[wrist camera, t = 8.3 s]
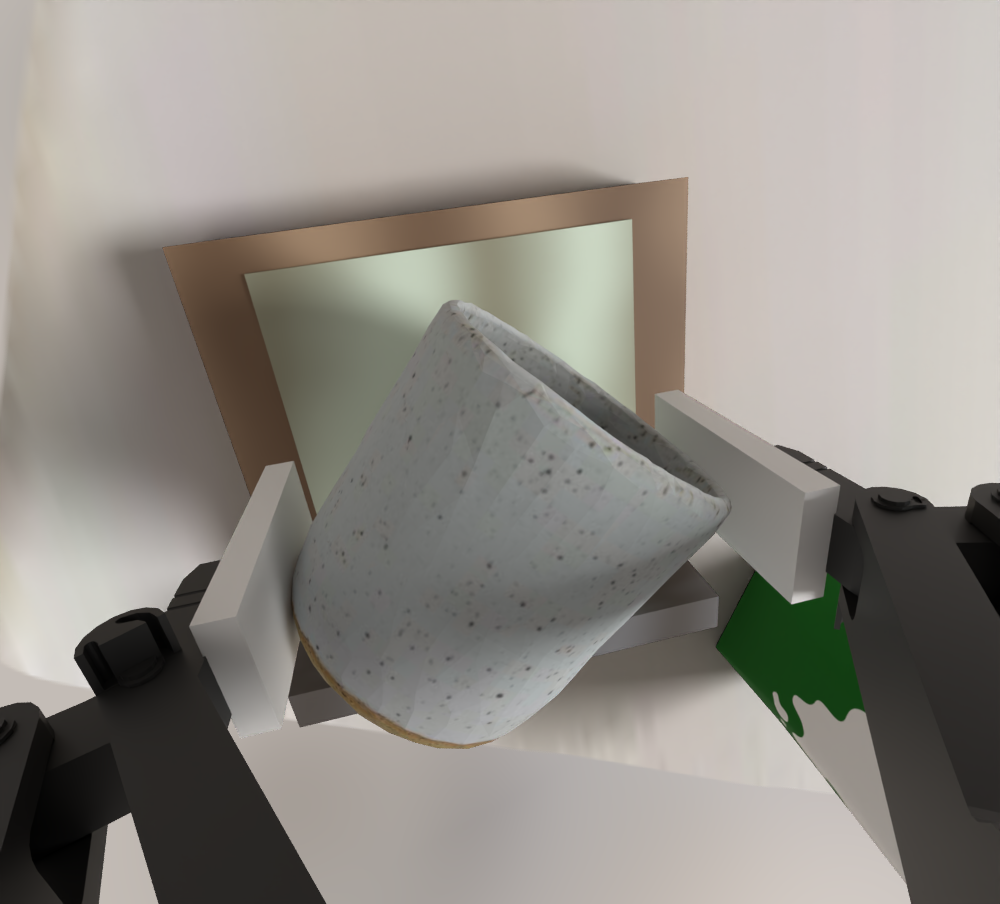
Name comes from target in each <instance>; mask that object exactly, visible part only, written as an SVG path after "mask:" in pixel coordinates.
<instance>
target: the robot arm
mask: <svg viewBox="0 0 1000 904" xmlns="http://www.w3.org/2000/svg"><path fill="white" fill-rule="evenodd" d="M655 430H656V431H658V432H659V433H660V434H661V435H662V436H664V437H665V438H666V439H667V440H668V441H669V442H671V443H672V444H673V445H674V446H676V447H677V448H678V449H680V450H681V451H682V452H684V453H685V454H686V455H687V456H688V457H690V458H691V459H692V460H693V461H694V462H695V463H697V464H698V465H699V466H700V467H701V468H702V469H703V470H705V471H706V472H707V473H708V474H709V475H710V476H711V477H712V478H713V479H714V480H715V481H716V482H717V483H718V484H719V485H720V486H721V488H722V489H723V490H724V492H725V493H726V495H727V496H728V498H729V499H730V501H731V507H732V508H731V511H730V514H729V515H728V517H727V518H726V519H725V521H724V522H723V523H722V524H721V526H720V527H719V528H718V530H717V531H716V533H717V534H718V535H719V536H720V537H721V538H722V539H723V540H725V541H726V542H727V543H728V544H729V545H730V546H731V547H732V548H733V549H734V550H735V551H736V552H737V553H738V554H739V555H740V556H741V557H742V558H743V559H744V560H745V561H747V562H748V563H749V564H750V565H751V566H752V567H753V568H754V569H755V570H756V571H757V572H758V573H759V574H760V575H761V576H762V577H763V578H764V579H765V580H766V581H767V582H769V583H770V584H771V585H772V586H773V587H774V588H775V589H776V590H777V591H778V592H779V593H780V594H781V595H782V596H783V597H784V598H785V599H786V600H787V601H788V602H789V603H791V604H795V603H799V602H803V601H807V600H811V599H815V598H820V597H823V596H824V589H825V583H826V576H827V573H828V574H829V575H830V576H832V577H833V578H834V579H835V580H837V581H838V582H839V583H840V584H841V587H840V593H839V599H838V605H837V611H836V617H835V623H834V629H838V630H840V626H841V623H842V622H844V626H845V630H846V634H847V638H848V642H849V647H850V651H851V655H852V659H853V663H854V667H855V672H856V676H857V680H858V684H859V688H860V692H861V697H862V701H863V705H864V709H865V713H866V717H867V721H868V726H869V730H870V734H871V738H872V742H873V746H874V751H875V755H876V759H877V763H878V767H879V771H880V776H881V780H882V784H883V788H884V792H885V796H886V801H887V805H888V809H889V813H890V817H891V821H892V825H893V830H894V834H895V838H896V842H897V846H898V850H899V855H900V859H901V863H902V867H903V871H904V875H905V880H906V884H907V888H908V892H909V896H910V900H911V904H1000V483H987V484H980V485H978V486H976V487H974V488H972V490H971V493H970V497H969V501H968V505H967V506H961V507H934V506H933V504H931V503H930V502H929V501H928V500H927V499H926V498H924V497H922V496H920V495H918V494H916V493H913V492H910V491H906V490H903V489H898V488H890V487H871V488H867V489H865V488H863V487H861V486H859V485H858V484H856V483H854V482H852V481H851V480H849V479H847V478H845V477H844V476H842V475H840V474H838V473H836V472H835V471H833V470H831V469H827V467H826V466H824V465H822V464H821V463H819V462H815V461H814V459H812V458H810V457H808V456H806V455H805V454H803V453H801V452H799V451H796V450H793V449H790V448H786V447H783V446H780V445H776V446H773V445H771V444H770V443H768V442H766V441H764V440H763V439H761V438H759V437H758V436H756V435H754V434H753V433H751V432H749V431H747V430H746V429H744V428H742V427H741V426H739V425H737V424H736V423H734V422H732V421H731V420H729V419H727V418H725V417H724V416H722V415H720V414H719V413H717V412H715V411H714V410H712V409H710V408H709V407H707V406H705V405H703V404H702V403H700V402H698V401H697V400H695V399H693V398H692V397H690V396H688V395H686V394H685V393H683V392H681V391H680V390H674V391H668V392H663V393H657V394H655ZM311 524H312V518H311V515H310V512H309V509H308V505H307V502H306V499H305V496H304V492H303V489H302V486H301V483H300V479H299V476H298V473H297V470H296V466H295V463H294V461H290V462H285V463H279V464H274V465H268V466H265V469H264V471H263V473H262V475H261V477H260V479H259V481H258V483H257V485H256V487H255V489H254V492H253V494H252V496H251V498H250V500H249V502H248V504H247V506H246V508H245V510H244V512H243V515H242V517H241V519H240V521H239V523H238V525H237V527H236V529H235V531H234V533H233V536H232V538H231V540H230V542H229V544H228V546H227V548H226V550H225V552H224V554H223V556H222V559H221V560H218V561H214V562H209V563H204V564H200V565H199V566H198V567H196V568H195V569H194V570H193V571H192V572H191V573H190V574H189V575H188V576H187V577H186V578H184V579H183V581H182V582H181V584H180V586H179V588H178V590H177V591H176V593H175V595H174V596H175V598H173V599H172V600H171V602H170V604H169V606H168V608H167V611H166V612H165V613H164V612H163V611H161V610H160V609H158V608H147V607H146V608H141V609H135V610H131V611H128V612H125V613H123V614H120V615H118V616H115V617H113V618H111V619H109V620H108V621H106V622H104V623H102V624H101V625H99V626H97V627H96V628H95V629H93V630H92V631H91V632H90V633H89V634H87V635H86V636H85V637H84V638H83V639H82V640H81V642H80V643H79V644H78V646H77V647H76V648H75V654H74V659H75V661H76V663H77V664H78V666H79V668H80V669H81V671H82V673H83V675H84V676H85V678H86V680H87V681H88V683H89V685H90V686H91V688H92V690H93V692H94V693H95V695H96V696H95V697H93V698H91V699H89V700H87V701H85V702H83V703H80V704H78V705H76V706H73V707H71V708H69V709H66V710H64V711H62V712H59V713H57V714H55V715H52V716H50V717H48V718H45V716H44V715H43V713H42V712H41V710H40V709H39V707H37V706H36V705H34V704H33V703H31V702H30V703H15V704H11V705H8V706H4V707H1V708H0V904H99V895H100V887H101V879H102V870H103V861H104V852H105V844H106V835H107V827H108V824H109V823H111V822H113V821H115V820H117V819H119V818H121V817H123V816H125V815H127V814H129V813H131V814H132V817H133V820H134V823H135V827H136V830H137V833H138V837H139V840H140V843H141V846H142V850H143V853H144V857H145V860H146V863H147V867H148V870H149V873H150V876H151V879H152V883H153V886H154V890H155V893H156V897H157V900H158V903H159V904H326V902H325V901H324V899H323V897H322V895H321V894H320V892H319V890H318V888H317V887H316V885H315V883H314V881H313V880H312V878H311V876H310V874H309V872H308V871H307V869H306V867H305V865H304V864H303V862H302V860H301V858H300V857H299V855H298V853H297V851H296V850H295V848H294V846H293V844H292V843H291V841H290V839H289V837H288V835H287V834H286V832H285V830H284V828H283V827H282V825H281V823H280V821H279V819H278V818H277V816H276V814H275V812H274V811H273V809H272V807H271V805H270V804H269V802H268V800H267V798H266V796H265V795H264V793H263V791H262V789H261V788H260V786H259V784H258V782H257V781H256V779H255V777H254V775H253V774H252V772H251V770H250V768H249V766H248V765H247V763H246V761H245V759H244V758H243V756H242V754H241V752H240V751H239V749H238V747H237V745H236V744H235V742H234V740H233V738H232V736H231V735H230V733H229V731H228V730H227V729H228V725H229V722H230V719H232V721H233V723H234V726H235V728H236V730H237V732H238V734H239V736H240V738H245V737H249V736H253V735H257V734H262V733H265V732H270V731H274V730H278V729H281V728H282V725H283V720H284V715H285V710H286V705H287V700H288V695H289V690H290V685H291V680H292V675H293V670H294V665H295V660H296V655H297V650H298V645H299V640H300V637H299V634H298V631H297V628H296V624H295V621H294V618H293V612H292V603H291V595H292V579H293V574H294V570H295V567H296V564H297V560H298V557H299V555H300V552H301V550H302V547H303V545H304V542H305V540H306V537H307V535H308V532H309V529H310V526H311Z"/></svg>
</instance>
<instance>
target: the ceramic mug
mask: <svg viewBox="0 0 1000 904" xmlns="http://www.w3.org/2000/svg"><path fill="white" fill-rule="evenodd" d="M731 508H732V507H731V501H730V499H729V498H728V496H727V495H726V493H725V492H724V490H723V489H722V488H721V486H720V485H719V484H718V483H717V482H716V481H715V480H714V479H713V478H712V477H711V476H710V475H709V474H708V473H707V472H706V471H705V470H703V469H702V468H701V467H700V466H699V465H698V464H697V463H695V462H694V461H693V460H692V459H691V458H690V457H688V456H687V455H686V454H685V453H684V452H682V451H681V450H680V449H678V448H677V447H676V446H674V445H673V444H672V443H671V442H669V441H668V440H667V439H666V438H665V437H664V436H662V435H661V434H660V433H659V432H658V431H656V430H655V429H654V428H653V427H651V426H650V425H648V424H647V423H646V422H644V421H643V420H642V419H641V418H640V417H638V416H637V415H636V414H635V413H634V412H633V411H631V410H630V409H628V408H627V407H625V406H624V405H623V404H621V403H620V402H619V401H618V400H616V399H615V398H614V397H612V396H611V395H610V394H608V393H607V392H606V391H605V390H603V389H602V388H601V387H599V386H598V385H597V384H596V383H594V382H593V381H591V380H589V379H588V378H586V377H584V376H583V375H581V374H580V373H579V372H577V371H576V370H574V369H573V368H572V367H571V366H569V365H568V364H567V363H566V362H565V361H563V360H562V359H560V358H559V357H557V356H556V355H554V354H553V353H551V352H550V351H548V350H547V349H545V348H544V347H542V346H541V345H539V344H538V343H536V342H535V341H533V340H532V339H531V338H529V337H528V336H527V335H525V334H523V333H521V332H519V331H518V330H516V329H515V328H514V327H512V326H510V325H508V324H507V323H505V322H503V321H501V320H500V319H498V318H497V317H495V316H494V315H492V314H490V313H489V312H487V311H484V310H482V309H480V308H479V307H477V306H476V305H474V304H472V303H466V302H463V301H462V300H450V301H448V302H446V303H445V304H443V305H442V306H441V308H440V310H439V311H438V313H437V314H436V316H435V317H434V319H433V320H432V322H431V323H430V325H429V326H428V328H427V330H426V332H425V334H424V335H423V337H422V339H421V341H420V343H419V345H418V346H417V348H416V350H415V352H414V354H413V356H412V357H411V359H410V361H409V362H408V364H407V365H406V367H405V369H404V370H403V372H402V374H401V375H400V377H399V379H398V380H397V382H396V383H395V385H394V387H393V388H392V390H391V392H390V393H389V395H388V396H387V398H386V400H385V401H384V403H383V405H382V406H381V408H380V410H379V411H378V413H377V414H376V416H375V418H374V419H373V421H372V423H371V424H370V426H369V428H368V429H367V431H366V433H365V435H364V437H363V439H362V441H361V443H360V445H359V447H358V449H357V451H356V452H355V454H354V455H353V457H352V459H351V460H350V462H349V463H348V465H347V467H346V468H345V470H344V471H343V473H342V474H341V476H340V478H339V479H338V481H337V482H336V484H335V486H334V487H333V489H332V491H331V492H330V494H329V496H328V497H327V499H326V501H325V502H324V504H323V506H322V507H321V509H320V511H319V512H318V514H317V516H316V517H315V519H314V521H313V522H312V524H311V526H310V529H309V532H308V535H307V537H306V540H305V542H304V545H303V547H302V550H301V552H300V555H299V557H298V560H297V564H296V567H295V570H294V574H293V579H292V595H291V603H292V612H293V618H294V621H295V624H296V628H297V631H298V634H299V637H300V641H301V642H302V644H303V646H304V648H305V650H306V652H307V654H308V656H309V658H310V660H311V662H312V664H313V665H314V667H315V668H316V669H317V671H318V672H319V673H320V675H321V676H322V677H323V679H324V680H325V681H326V682H327V683H328V684H329V685H330V686H331V687H332V688H333V689H334V690H335V691H336V692H337V693H338V694H339V695H340V696H341V697H342V698H343V699H344V700H345V701H346V702H347V703H348V704H349V705H350V706H351V707H352V708H353V709H354V710H355V711H356V712H357V713H358V714H359V715H361V716H362V717H364V718H365V719H367V720H369V721H371V722H372V723H374V724H376V725H377V726H379V727H381V728H382V729H384V730H386V731H387V732H389V733H391V734H394V735H397V736H399V737H402V738H405V739H407V740H410V741H412V742H415V743H419V744H423V745H428V746H431V747H435V748H456V749H469V748H472V747H476V746H479V745H482V744H486V743H489V742H492V741H494V740H496V739H498V738H499V737H501V736H503V735H505V734H507V733H509V732H510V731H512V730H513V729H515V728H516V727H518V726H519V725H520V724H522V723H523V722H525V721H526V720H527V719H529V718H530V717H531V716H533V715H534V714H535V713H536V712H537V711H539V710H540V709H541V708H542V707H544V706H545V705H546V704H547V703H548V702H550V701H551V700H552V699H553V698H555V697H556V696H557V695H558V694H559V693H560V692H561V691H562V690H563V689H564V688H565V686H566V685H567V684H568V683H569V682H570V681H571V680H572V679H573V677H574V676H575V675H576V674H577V673H578V672H579V671H580V669H581V668H582V667H583V666H584V665H585V664H586V662H587V661H588V660H589V659H590V658H591V657H592V656H593V654H594V653H595V652H596V651H597V650H598V649H599V648H600V647H601V646H602V645H603V644H604V643H605V642H606V641H607V640H608V639H609V638H610V637H611V636H612V635H613V634H614V633H615V632H616V631H617V630H618V629H619V628H620V627H621V626H622V625H624V624H625V623H626V622H627V621H628V620H629V619H630V618H631V617H632V616H633V615H634V613H635V612H636V611H637V610H638V609H639V608H640V607H641V606H642V605H643V604H644V603H645V602H646V601H647V600H648V599H649V598H650V597H651V596H652V595H653V594H654V593H655V592H656V591H657V590H658V589H659V588H660V587H661V586H662V585H663V584H664V583H665V582H666V581H667V580H668V579H669V578H670V577H671V576H672V575H673V574H674V573H675V572H676V571H677V570H678V569H679V568H680V567H681V566H682V565H683V564H684V563H685V562H686V561H687V560H688V559H689V558H690V557H691V556H692V555H693V554H694V553H695V552H697V551H698V550H699V549H700V548H701V547H702V546H703V545H704V544H705V543H706V542H707V541H708V540H709V539H710V538H711V537H712V536H713V535H714V534H715V532H716V531H717V530H718V528H719V527H720V526H721V524H722V523H723V522H724V521H725V519H726V518H727V517H728V515H729V514H730V511H731Z"/></svg>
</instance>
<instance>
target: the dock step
mask: <svg viewBox="0 0 1000 904" xmlns="http://www.w3.org/2000/svg"><path fill="white" fill-rule="evenodd" d="M687 213H688V177H685V178H677V179H669V180H661V181H653V182H645V183H637V184H629V185H622V186H614V187H607V188H599V189H592V190H584V191H577V192H569V193H562V194H554V195H547V196H540V197H532V198H525V199H517V200H510V201H502V202H495V203H487V204H480V205H472V206H465V207H457V208H450V209H442V210H435V211H427V212H420V213H413V214H405V215H398V216H390V217H383V218H375V219H368V220H360V221H353V222H345V223H338V224H330V225H323V226H315V227H308V228H300V229H293V230H286V231H278V232H271V233H263V234H256V235H248V236H241V237H233V238H226V239H218V240H211V241H203V242H197V243H190V244H183V245H176V246H169V247H163V251H164V254H165V257H166V260H167V262H168V265H169V268H170V271H171V274H172V276H173V279H174V282H175V285H176V288H177V291H178V293H179V296H180V299H181V302H182V305H183V307H184V310H185V313H186V316H187V319H188V321H189V324H190V327H191V330H192V333H193V336H194V338H195V341H196V344H197V347H198V350H199V352H200V355H201V358H202V361H203V364H204V367H205V369H206V372H207V375H208V378H209V381H210V383H211V386H212V389H213V392H214V395H215V398H216V400H217V403H218V406H219V409H220V412H221V414H222V417H223V420H224V423H225V426H226V428H227V431H228V434H229V437H230V440H231V443H232V445H233V448H234V451H235V454H236V457H237V459H238V462H239V465H240V468H241V471H242V474H243V476H244V479H245V482H246V485H247V488H248V490H249V493H250V496H252V494H253V492H254V489H255V487H256V485H257V483H258V481H259V479H260V477H261V475H262V473H263V471H264V469H265V466H268V465H274V464H279V463H285V462H290V461H294V463H295V466H296V470H297V473H298V476H299V479H300V483H301V486H302V489H303V492H304V496H305V499H306V502H307V505H308V509H309V512H310V515H311V518H312V522H313V521H314V519H315V517H316V516H317V514H318V512H319V511H320V509H321V507H322V506H323V504H324V502H325V501H326V499H327V497H328V496H329V494H330V492H331V491H332V489H333V487H334V486H335V484H336V482H337V481H338V479H339V478H340V476H341V474H342V473H343V471H344V470H345V468H346V467H347V465H348V463H349V462H350V460H351V459H352V457H353V455H354V454H355V452H356V451H357V449H358V447H359V445H360V443H361V441H362V439H363V437H364V435H365V433H366V431H367V429H368V428H369V426H370V424H371V423H372V421H373V419H374V418H375V416H376V414H377V413H378V411H379V410H380V408H381V406H382V405H383V403H384V401H385V400H386V398H387V396H388V395H389V393H390V392H391V390H392V388H393V387H394V385H395V383H396V382H397V380H398V379H399V377H400V375H401V374H402V372H403V370H404V369H405V367H406V365H407V364H408V362H409V361H410V359H411V357H412V356H413V354H414V352H415V350H416V348H417V346H418V345H419V343H420V341H421V339H422V337H423V335H424V334H425V332H426V330H427V328H428V326H429V325H430V323H431V322H432V320H433V319H434V317H435V316H436V314H437V313H438V311H439V310H440V308H441V306H442V305H443V304H445V303H446V302H448V301H450V300H462V301H463V302H466V303H472V304H474V305H476V306H477V307H479V308H480V309H482V310H484V311H487V312H489V313H490V314H492V315H494V316H495V317H497V318H498V319H500V320H501V321H503V322H505V323H507V324H508V325H510V326H512V327H514V328H515V329H516V330H518V331H519V332H521V333H523V334H525V335H527V336H528V337H529V338H531V339H532V340H533V341H535V342H536V343H538V344H539V345H541V346H542V347H544V348H545V349H547V350H548V351H550V352H551V353H553V354H554V355H556V356H557V357H559V358H560V359H562V360H563V361H565V362H566V363H567V364H568V365H569V366H571V367H572V368H573V369H574V370H576V371H577V372H579V373H580V374H581V375H583V376H584V377H586V378H588V379H589V380H591V381H593V382H594V383H596V384H597V385H598V386H599V387H601V388H602V389H603V390H605V391H606V392H607V393H608V394H610V395H611V396H612V397H614V398H615V399H616V400H618V401H619V402H620V403H621V404H623V405H624V406H625V407H627V408H628V409H630V410H631V411H633V412H634V413H635V414H636V415H637V416H638V417H640V418H641V419H642V420H643V421H644V422H646V423H647V424H648V425H650V426H651V427H653V428H654V429H655V394H657V393H663V392H668V391H674V390H680V391H681V392H683V393H684V366H685V315H686V264H687ZM718 605H719V596H718V595H717V593H716V592H715V591H714V590H713V589H712V588H711V587H710V585H709V584H708V583H707V582H706V581H705V580H704V578H703V577H702V576H701V575H700V574H699V573H698V572H697V570H696V569H695V568H694V567H693V566H692V565H691V564H690V562H689V561H688V560H687V561H686V562H685V563H684V564H683V565H682V566H681V567H680V568H679V569H678V570H677V571H676V572H675V573H674V574H673V575H672V576H671V577H670V578H669V579H668V580H667V581H666V582H665V583H664V584H663V585H662V586H661V587H660V588H659V589H658V590H657V591H656V592H655V593H654V594H653V595H652V596H651V597H650V598H649V599H648V600H647V601H646V602H645V603H644V604H643V605H642V606H641V607H640V608H639V609H638V610H637V611H636V612H635V613H634V615H633V616H632V617H631V618H630V619H629V620H628V621H627V622H626V623H625V624H624V625H622V626H621V627H620V628H619V629H618V630H617V631H616V632H615V633H614V634H613V635H612V636H611V637H610V638H609V639H608V640H607V641H606V642H605V643H604V644H603V645H602V646H601V647H600V648H599V649H598V650H597V651H596V652H595V653H594V654H593V656H592V657H594V656H598V655H602V654H606V653H610V652H615V651H619V650H623V649H627V648H631V647H635V646H639V645H644V644H648V643H652V642H656V641H660V640H664V639H669V638H673V637H677V636H681V635H685V634H689V633H693V632H698V631H702V630H706V629H710V628H714V627H717V623H718ZM288 698H289V701H290V703H291V706H292V708H293V711H294V714H295V716H296V719H297V721H298V724H299V726H300V727H303V726H307V725H312V724H316V723H320V722H324V721H329V720H333V719H337V718H341V717H345V716H349V715H353V714H358V713H357V712H356V711H355V710H354V709H353V708H352V707H351V706H350V705H349V704H348V703H347V702H346V701H345V700H344V699H343V698H342V697H341V696H340V695H339V694H338V693H337V692H336V691H335V690H334V689H333V688H332V687H331V686H330V685H329V684H328V683H327V682H326V681H325V680H324V679H323V677H322V676H321V675H320V673H319V672H318V671H317V669H316V668H315V667H314V665H313V664H312V662H311V660H310V658H309V656H308V654H307V652H306V650H305V648H304V646H303V644H302V642H301V641H299V646H298V651H297V656H296V661H295V666H294V671H293V676H292V680H291V685H290V690H289V695H288Z"/></svg>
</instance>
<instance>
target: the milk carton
mask: <svg viewBox="0 0 1000 904" xmlns="http://www.w3.org/2000/svg"><path fill="white" fill-rule="evenodd" d="M840 587H841V584H840V583H839V582H838V581H837V580H835V579H834V578H833V577H832V576H830V575H829V574H828V573H827V576H826V583H825V589H824V596H823V597H820V598H815V599H811V600H807V601H803V602H799V603H795V604H791V603H789V602H788V601H787V600H786V599H785V598H784V597H783V596H782V595H781V594H780V593H779V592H778V591H777V590H776V589H775V588H774V587H773V586H772V585H771V584H770V583H769V582H767V581H766V580H765V579H764V578H763V577H762V576H761V575H760V574H759V573H758V572H757V571H755V573H754V574H753V576H752V578H751V580H750V582H749V584H748V586H747V588H746V590H745V592H744V594H743V596H742V598H741V599H740V601H739V603H738V605H737V607H736V609H735V611H734V613H733V615H732V617H731V619H730V621H729V622H728V624H727V626H726V628H725V630H724V632H723V634H722V636H721V638H720V640H719V642H718V644H717V646H716V648H717V649H718V650H719V652H720V653H721V654H722V655H723V656H724V657H725V658H726V660H727V661H728V662H729V663H730V664H731V665H732V667H733V668H734V669H735V670H736V671H737V672H738V673H739V675H740V676H741V677H742V678H743V679H744V680H745V682H746V683H747V684H748V685H749V686H750V687H751V689H752V690H753V691H754V692H755V693H756V694H757V695H758V697H759V698H760V699H761V700H762V701H763V702H764V704H765V705H766V706H767V707H768V708H769V709H770V710H771V712H772V713H773V714H774V715H775V716H776V717H777V719H778V720H779V721H780V722H781V723H782V725H783V726H784V727H785V728H786V730H787V731H788V732H789V733H790V735H791V736H792V737H793V739H794V740H795V741H796V742H797V744H798V745H799V746H800V748H801V749H802V750H803V751H804V753H805V754H806V755H807V757H808V758H809V759H810V760H811V762H812V763H813V764H814V766H815V767H816V768H817V769H818V771H819V772H820V773H821V775H822V776H823V777H824V778H825V780H826V781H827V782H828V784H829V785H830V786H831V787H832V789H833V790H834V791H835V793H836V794H837V795H838V796H839V798H840V799H841V800H842V802H843V803H844V804H845V805H846V807H847V808H848V809H849V811H850V812H851V813H852V814H853V816H854V817H855V818H856V820H857V821H858V822H859V823H860V825H861V826H862V827H863V829H864V830H865V831H866V832H867V834H868V835H869V836H870V838H871V839H872V840H873V842H874V843H875V844H876V845H877V847H878V848H879V849H880V851H881V852H882V853H883V854H884V856H885V857H886V858H887V860H888V861H889V862H890V864H891V865H892V866H893V867H894V869H895V870H896V871H897V873H898V874H899V875H900V876H901V878H902V879H903V880H904V882H905V883H906V880H905V875H904V871H903V867H902V863H901V859H900V855H899V850H898V846H897V842H896V838H895V834H894V830H893V825H892V821H891V817H890V813H889V809H888V805H887V801H886V796H885V792H884V788H883V784H882V780H881V776H880V771H879V767H878V763H877V759H876V755H875V751H874V746H873V742H872V738H871V734H870V730H869V726H868V721H867V717H866V713H865V709H864V705H863V701H862V697H861V692H860V688H859V684H858V680H857V676H856V672H855V667H854V663H853V659H852V655H851V651H850V647H849V642H848V638H847V634H846V630H845V626H844V622H842V623H841V626H840V630H838V629H834V623H835V617H836V611H837V605H838V599H839V593H840Z"/></svg>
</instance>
